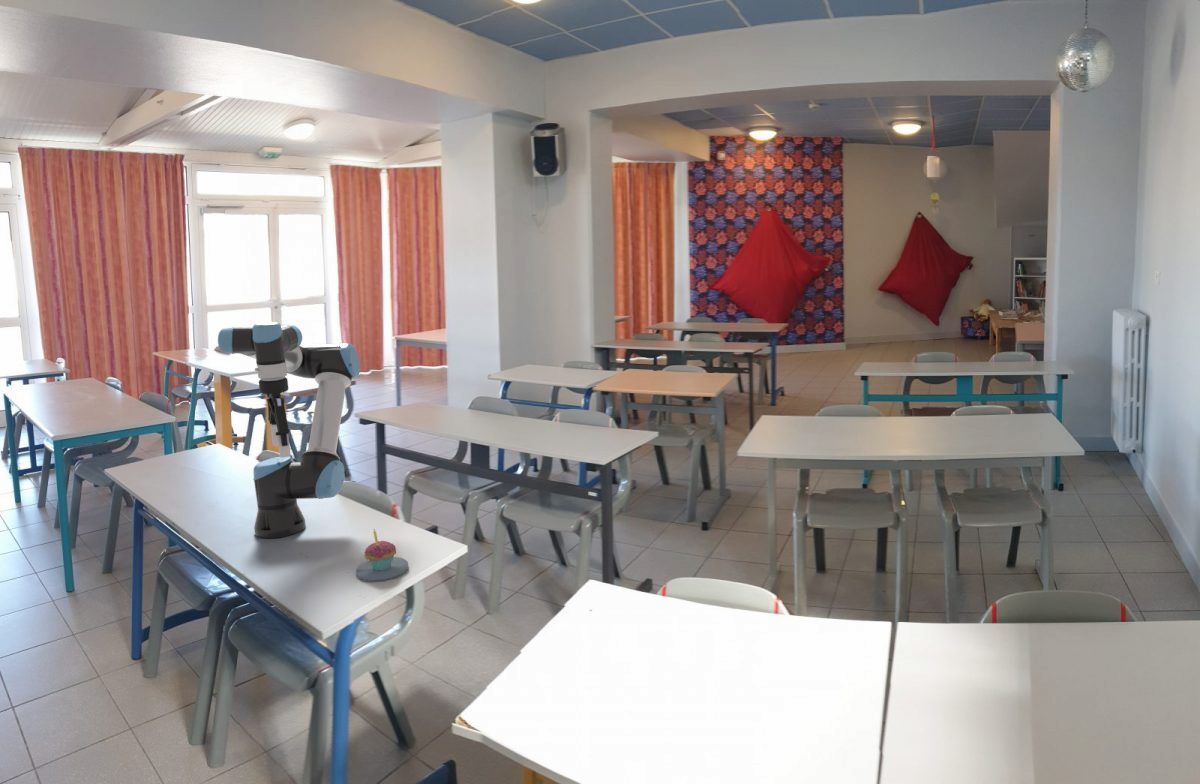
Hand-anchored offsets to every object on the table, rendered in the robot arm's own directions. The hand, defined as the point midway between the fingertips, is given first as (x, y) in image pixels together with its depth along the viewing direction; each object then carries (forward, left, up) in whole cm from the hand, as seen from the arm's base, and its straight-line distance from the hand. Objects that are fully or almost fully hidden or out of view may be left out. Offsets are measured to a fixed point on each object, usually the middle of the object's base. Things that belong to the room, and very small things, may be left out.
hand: (281, 451), depth 227 cm
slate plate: (+26, +19, -32) cm, 45 cm away
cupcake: (+26, +19, -31) cm, 44 cm away
